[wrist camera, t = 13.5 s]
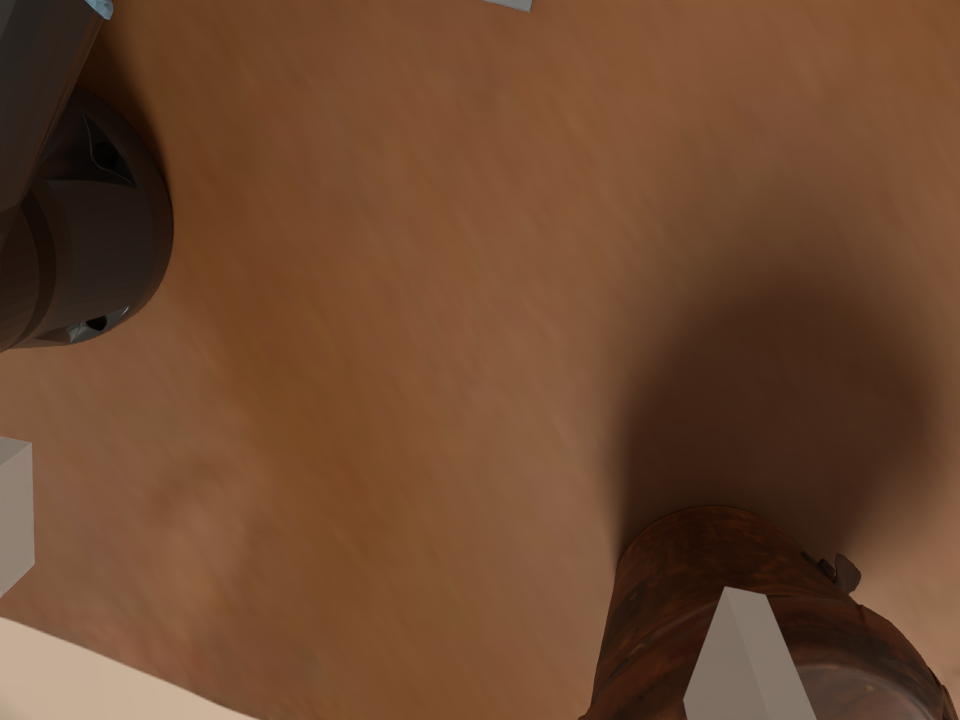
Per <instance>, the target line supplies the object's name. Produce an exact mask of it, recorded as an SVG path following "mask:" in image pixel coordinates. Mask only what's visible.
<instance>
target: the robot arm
mask: <svg viewBox="0 0 960 720" xmlns="http://www.w3.org/2000/svg"><path fill="white" fill-rule="evenodd" d="M112 14H113V3H112V0H0V353H2V352H4V351H5V350H7V349H18V348H34V347H51V346H65V345H71V344H76V343H80V342H84V341H87V340H90V339H93V338H95V337H98V336H100V335H102V334H104V333H106V332H108V331H110V330H111V329H113V328H115V327H116V326H118V325H120V324H121V323H123V322H125V321H126V320H128V319H129V318H131V317H132V316H133V315H135V314H136V313H137V312H138V311H140V310H141V309H142V308H143V307H144V306H145V305H146V304H147V302H148V301H149V300H150V299H151V297H152V296H153V295H154V293H155V292H156V290H157V289H158V287H159V285H160V283H161V281H162V279H163V277H164V274H165V272H166V269H167V266H168V263H169V258H170V254H171V247H172V235H173V231H172V215H171V208H170V203H169V199H168V195H167V191H166V188H165V185H164V182H163V179H162V177H161V174H160V172H159V170H158V168H157V166H156V164H155V162H154V160H153V158H152V156H151V154H150V153H149V151H148V150H147V148H146V146H145V145H144V143H143V142H142V141H141V139H140V138H139V136H138V135H137V134H136V133H135V132H134V130H133V129H132V128H131V127H130V126H129V125H128V124H127V122H126V121H125V120H124V119H123V118H122V117H121V116H120V115H119V114H117V113H116V112H115V111H114V110H113V109H112V108H111V107H109V106H108V105H107V104H106V103H104V102H103V101H101V100H100V99H99V98H97V97H96V96H94V95H93V94H91V93H89V92H88V91H86V90H84V89H82V88H80V87H79V86H76V85H75V84H76V82H77V80H78V77H79V75H80V73H81V71H82V68H83V66H84V64H85V61H86V59H87V57H88V55H89V52H90V50H91V48H92V46H93V43H94V41H95V39H96V37H97V34H98V32H99V30H100V28H101V25H102V23H103V21H104V19H108V20H110V18H111V16H112ZM34 564H35V560H34V518H33V476H32V443H31V442H26V441H21V440H16V439H12V438H7V437H2V436H0V598H1V597H2V596H3V595H4V594H5V593H6V592H7V591H8V590H9V589H10V588H11V587H12V586H13V585H14V584H15V583H16V582H17V581H18V580H19V579H20V578H21V577H22V576H23V575H24V574H25V573H26V572H27V571H28V570H29V569H30V568H31V567H32V566H33V565H34ZM683 701H684V706H685V710H686V715H687V720H817V719H816V717H815V714H814V712H813V709H812V707H811V704H810V702H809V700H808V697H807V695H806V692H805V690H804V687H803V685H802V683H801V680H800V678H799V675H798V673H797V670H796V668H795V665H794V663H793V661H792V658H791V656H790V653H789V651H788V648H787V646H786V644H785V641H784V639H783V636H782V634H781V631H780V629H779V627H778V624H777V622H776V619H775V617H774V614H773V612H772V609H771V607H770V605H769V602H768V600H767V597H766V595H764V594H759V593H754V592H750V591H745V590H740V589H735V588H730V587H724V590H723V592H722V595H721V598H720V601H719V603H718V606H717V609H716V611H715V614H714V617H713V620H712V622H711V625H710V628H709V631H708V633H707V636H706V639H705V642H704V644H703V647H702V650H701V652H700V655H699V658H698V661H697V663H696V666H695V669H694V672H693V674H692V677H691V680H690V682H689V685H688V688H687V691H686V693H685V696H684V699H683Z"/></svg>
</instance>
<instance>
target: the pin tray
mask: <svg viewBox="0 0 960 720" xmlns="http://www.w3.org/2000/svg"><path fill="white" fill-rule="evenodd" d="M484 1H488V2H491V3H495V4H499V5H503V6H507V7H511V8H515V9H519V10H522V11H526V12H530V11H531V7H532V3H533V0H484Z"/></svg>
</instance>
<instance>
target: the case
mask: <svg viewBox="0 0 960 720" xmlns="http://www.w3.org/2000/svg"><path fill="white" fill-rule="evenodd" d="M835 567H836V570H835V569H834V568H833V567H832V566H831V565H830V564H829V563H828V562H827V561H825V560H824V559H821V560H820V562H816V561H815V560H814V559H813V558H812V557H811V556H809V555H808V554H807V553H806V552H805V551H804V550H803V549H802V548H801V547H800V546H799V545H798V543H797V542H796V541H795V540H794V539H793V538H791V537H790V536H789V535H788V534H787V533H786V532H785V531H783V530H782V529H781V528H780V527H778V526H777V525H775V524H773V523H772V522H770V521H768V520H767V519H765V518H763V517H760V516H758V515H755V514H753V513H750V512H747V511H743V510H739V509H734V508H730V507H723V506H706V507H697V508H692V509H687V510H683V511H680V512H677V513H673V514H671V515H668V516H666V517H663V518H661V519H660V520H658V521H656V522H655V523H653V524H651V525H650V526H649V527H647V528H646V529H645V530H644V531H643V532H642V533H640V534H639V535H638V536H637V537H636V538H635V539H634V540H633V542H632V543H631V544H630V546H629V547H628V548H627V550H626V551H625V553H624V555H623V557H622V558H621V560H620V563H619V565H618V568H617V572H616V577H615V582H614V588H613V593H612V598H611V602H610V606H609V611H608V616H607V621H606V626H605V631H604V636H603V640H602V645H601V650H600V655H599V659H598V663H597V668H596V674H595V679H594V686H593V693H592V700H591V705H590V708H589V709H588V711H587V713H586V714H585V715H583V716H581V717H579V718H578V720H687V715H686V710H685V706H684V701H683V699H684V696H685V693H686V691H687V688H688V685H689V682H690V680H691V677H692V674H693V672H694V669H695V666H696V663H697V661H698V658H699V655H700V652H701V650H702V647H703V644H704V642H705V639H706V636H707V633H708V631H709V628H710V625H711V622H712V620H713V617H714V614H715V611H716V609H717V606H718V603H719V601H720V598H721V595H722V592H723V590H724V587H730V588H735V589H740V590H745V591H750V592H754V593H759V594H764V595H766V597H767V600H768V602H769V605H770V607H771V609H772V612H773V614H774V617H775V619H776V622H777V624H778V627H779V629H780V631H781V634H782V636H783V639H784V641H785V644H786V646H787V648H788V651H789V653H790V656H791V658H792V661H793V663H794V665H795V668H796V670H797V673H798V675H799V678H800V680H801V683H802V685H803V687H804V690H805V692H806V695H807V697H808V700H809V702H810V704H811V707H812V709H813V712H814V714H815V717H816V719H817V720H959V719H958V716H957V713H956V711H955V708H954V705H953V702H952V700H951V697H950V695H949V692H948V690H947V688H946V687H945V686H944V685H941V683H940V682H939V680H938V679H937V677H936V676H935V674H934V673H933V672H932V670H931V669H930V668H929V667H928V666H927V665H926V663H925V661H924V660H923V658H922V657H921V655H920V654H919V653H918V651H917V650H916V649H915V648H914V647H913V645H912V644H911V643H910V642H909V640H907V639H906V637H905V636H904V635H903V634H902V633H901V632H900V631H899V630H898V629H897V628H896V627H895V626H894V625H893V624H892V623H891V622H890V621H889V620H887V619H885V618H884V617H882V616H880V615H879V614H877V613H875V612H874V611H872V610H871V609H868V608H866V607H865V606H863V605H858V604H857V603H856V602H855V601H854V600H853V599H852V598H851V597H850V596H849V595H848V594H849V593H850V592H852V591H854V590H855V589H856V587H857V586H858V584H859V582H860V579H861V573H860V571H859V570H858V569H857V568H856V567H855V566H854V564H853V563H852V562H850V561H849V560H848V559H847V558H846V557H845V556H844V555H842V554H839V553H837V554H836V559H835ZM835 572H836V576H835V575H834V574H835Z"/></svg>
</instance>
